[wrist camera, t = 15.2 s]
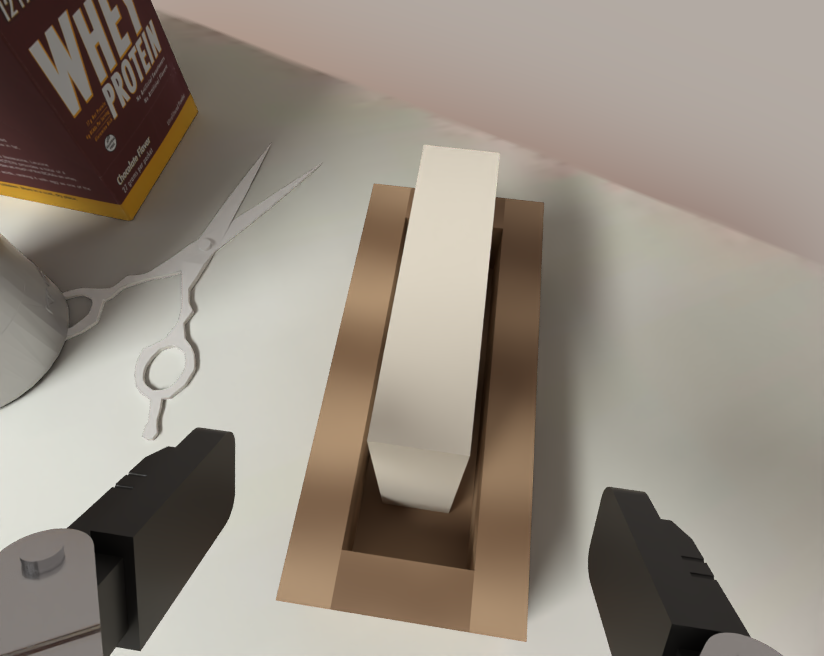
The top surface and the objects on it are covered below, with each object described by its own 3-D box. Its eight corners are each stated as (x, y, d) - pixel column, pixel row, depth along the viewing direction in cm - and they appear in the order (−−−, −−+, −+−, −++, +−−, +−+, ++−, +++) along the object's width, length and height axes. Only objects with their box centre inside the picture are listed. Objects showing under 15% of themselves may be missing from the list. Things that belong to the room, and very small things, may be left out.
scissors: (2, 345, 29) (234, 118, 37) (11, 351, 30) (237, 127, 38) (149, 441, 27) (364, 177, 35) (156, 446, 28) (365, 185, 35)
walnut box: (505, 636, 23) (526, 641, 19) (299, 602, 24) (275, 600, 19) (526, 256, 32) (543, 202, 28) (378, 238, 33) (373, 183, 29)
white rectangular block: (448, 513, 24) (469, 456, 15) (382, 503, 24) (366, 440, 16) (473, 289, 30) (500, 152, 21) (419, 282, 30) (423, 144, 21)
